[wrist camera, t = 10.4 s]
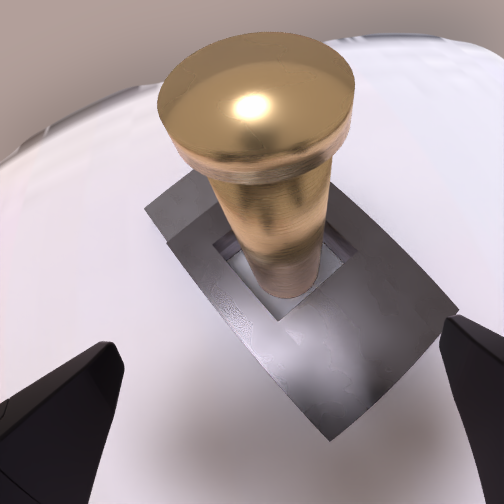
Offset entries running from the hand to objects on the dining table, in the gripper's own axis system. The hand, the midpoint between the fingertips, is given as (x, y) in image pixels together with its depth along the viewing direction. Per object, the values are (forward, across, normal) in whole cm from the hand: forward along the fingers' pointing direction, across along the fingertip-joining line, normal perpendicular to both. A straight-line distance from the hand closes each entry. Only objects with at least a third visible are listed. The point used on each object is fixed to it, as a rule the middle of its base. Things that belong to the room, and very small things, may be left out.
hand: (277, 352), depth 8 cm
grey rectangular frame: (+12, 0, +3) cm, 12 cm away
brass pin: (+12, 0, +3) cm, 12 cm away
